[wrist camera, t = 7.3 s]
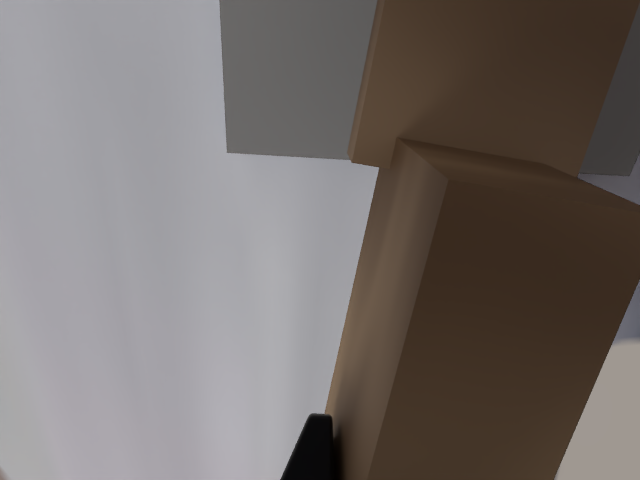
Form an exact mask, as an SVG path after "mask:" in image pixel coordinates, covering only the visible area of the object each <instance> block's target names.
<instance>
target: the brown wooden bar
mask: <svg viewBox="0 0 640 480" xmlns="http://www.w3.org/2000/svg"><path fill="white" fill-rule="evenodd" d="M639 3H640V0H377V5H376V10H375V15H374V20H373V25H372V30H371V35H370V40H369V45H368V50H367V55H366V60H365V65H364V70H363V75H362V80H361V85H360V90H359V95H358V100H357V105H356V110H355V115H354V120H353V125H352V130H351V135H350V140H349V145H348V150H347V154H348V156H349V158H350V160H351V162H352V163H357V164H363V165H369V166H374V167H379V172H378V176H377V181H376V185H375V190H374V194H373V199H372V203H371V208H370V212H369V217H368V221H367V226H366V230H365V235H364V239H363V243H362V248H361V252H360V257H359V261H358V266H357V270H356V275H355V279H354V284H353V288H352V293H351V297H350V302H349V306H348V311H347V315H346V320H345V324H344V329H343V333H342V338H341V342H340V347H339V351H338V355H337V360H336V364H335V369H334V373H333V378H332V382H331V387H330V391H329V396H328V400H327V405H326V409H325V414H330V415H331V416H332V418H333V443H334V480H554V477H555V475H556V473H557V470H558V468H559V466H560V463H561V461H562V459H563V456H564V454H565V452H566V449H567V447H568V445H569V442H570V440H571V438H572V435H573V433H574V431H575V429H576V426H577V424H578V421H579V419H580V417H581V415H582V412H583V410H584V408H585V405H586V403H587V401H588V398H589V396H590V394H591V391H592V389H593V387H594V384H595V382H596V380H597V377H598V375H599V373H600V370H601V368H602V365H603V363H604V361H605V359H606V356H607V354H608V352H609V349H610V347H611V345H612V342H613V340H614V338H615V336H616V333H617V331H618V329H619V326H620V324H621V322H622V319H623V317H624V315H625V312H626V310H627V308H628V305H629V303H630V301H631V298H632V296H633V294H634V291H635V289H636V287H637V284H638V282H639V280H640V205H638V204H635V203H633V202H631V201H628V200H626V199H624V198H622V197H619V196H617V195H615V194H612V193H610V192H608V191H606V190H603V189H601V188H599V187H596V186H594V185H592V184H590V183H587V182H585V181H583V180H580V179H578V178H577V176H578V173H579V171H580V168H581V165H582V162H583V159H584V157H585V154H586V151H587V148H588V145H589V143H590V140H591V137H592V134H593V132H594V129H595V126H596V123H597V120H598V118H599V115H600V112H601V109H602V106H603V104H604V101H605V98H606V95H607V92H608V90H609V87H610V84H611V81H612V78H613V76H614V73H615V70H616V67H617V65H618V62H619V59H620V56H621V53H622V51H623V48H624V45H625V42H626V39H627V37H628V34H629V31H630V28H631V25H632V23H633V20H634V17H635V14H636V11H637V9H638V6H639Z"/></svg>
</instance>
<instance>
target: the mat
mask: <svg viewBox="0 0 640 480" xmlns="http://www.w3.org/2000/svg"><path fill="white" fill-rule="evenodd" d="M376 5H377V0H220V21H221V41H222V61H223V81H224V102H225V122H226V142H227V153H240V154H257V155H274V156H291V157H309V158H326V159H343V160H350V158H349V156H348V154H347V150H348V145H349V140H350V135H351V130H352V125H353V120H354V115H355V110H356V105H357V100H358V95H359V90H360V85H361V80H362V75H363V70H364V65H365V60H366V55H367V50H368V45H369V40H370V35H371V30H372V25H373V20H374V15H375V10H376ZM639 153H640V3H639V6H638V9H637V11H636V14H635V17H634V20H633V23H632V25H631V28H630V31H629V34H628V37H627V39H626V42H625V45H624V48H623V51H622V53H621V56H620V59H619V62H618V65H617V67H616V70H615V73H614V76H613V78H612V81H611V84H610V87H609V90H608V92H607V95H606V98H605V101H604V104H603V106H602V109H601V112H600V115H599V118H598V120H597V123H596V126H595V129H594V132H593V134H592V137H591V140H590V143H589V145H588V148H587V151H586V154H585V157H584V159H583V162H582V165H581V168H580V171H579V173H583V174H601V175H618V176H629V175H630V173H631V171H632V168H633V166H634V164H635V162H636V159H637V157H638V155H639Z"/></svg>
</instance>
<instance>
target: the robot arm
mask: <svg viewBox="0 0 640 480" xmlns="http://www.w3.org/2000/svg"><path fill="white" fill-rule="evenodd" d="M280 480H334V443H333V418H332V416H331V415H330V414H316V413H312V414H310V415H309V416H308V418H307V421H306V423H305V425H304V427H303V430H302V432H301V434H300V436H299V439H298V441H297V443H296V445H295V448H294V450H293V452H292V455H291V457H290V459H289V461H288V464H287V466H286V468H285V470H284V473H283V475H282V477H281V479H280Z"/></svg>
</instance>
